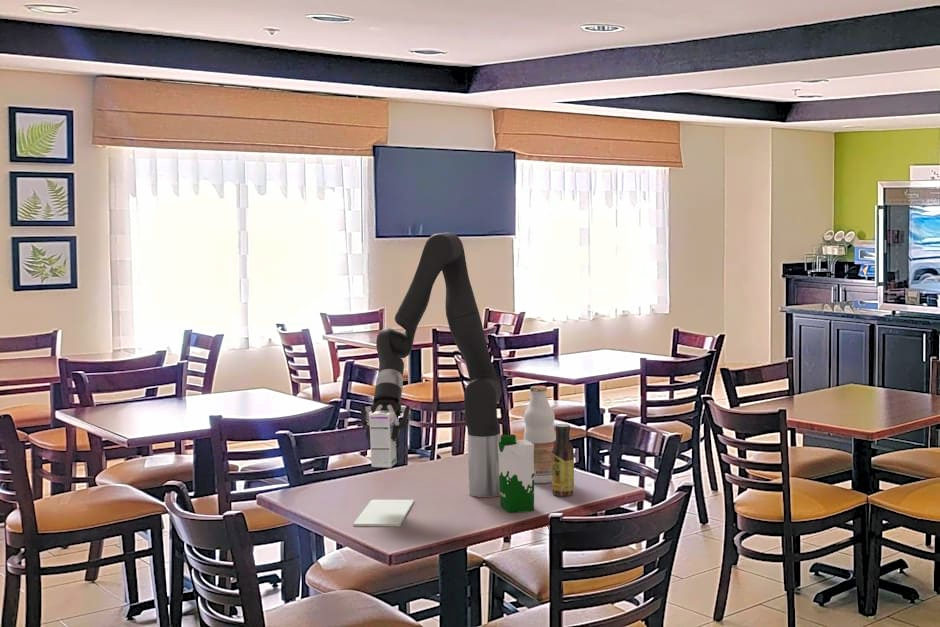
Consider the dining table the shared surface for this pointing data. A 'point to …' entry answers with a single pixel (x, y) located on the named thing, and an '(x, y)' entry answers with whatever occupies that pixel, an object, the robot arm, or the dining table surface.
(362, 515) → the mat
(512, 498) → the milk carton
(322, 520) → the dining table surface
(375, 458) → the syrup box
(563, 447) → the sauce bottle
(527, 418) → the fruit juice
